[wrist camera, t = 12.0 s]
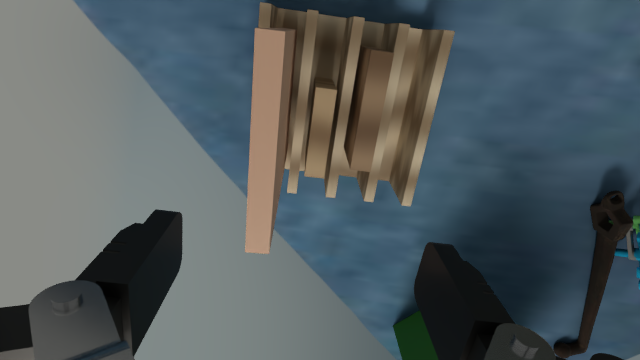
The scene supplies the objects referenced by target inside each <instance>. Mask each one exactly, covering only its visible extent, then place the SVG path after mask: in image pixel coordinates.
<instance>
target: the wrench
mask: <svg viewBox="0 0 640 360" xmlns="http://www.w3.org/2000/svg"><path fill="white" fill-rule="evenodd" d="M614 195H616V196H615V197H613V198H611V197H612V196H614ZM610 198H611V199H610ZM590 211H591V216H592V223H593V228H594V230H596V231H597V239H596V247H595V254H594V260H593V266H592V271H591V277H590V282H589V288H588V293H587V298H586V303H585V308H584V313H583V318H582V322H581V327H580V332H579V336H578V340H577V341H576V342H574V343H570V344H565V343H562V342H559V343H556V344H555V345H554V352H555V354H556V355H557V356H559V357H560V358H568V357H569V356H572V355H576V354H581V353H584V352H586V350H587V348H588V344H589V340H590V336H591V333H592V329H593V326H594V322H595V319H596V316H597V313H598V310H599V306H600V303H601V300H602V296H603V293H604V290H605V286H606V283H607V279H608V276H609V273H610V269H611V266H612V263H613V259H614V255H615V251H616V246H617V242H618V241H619V240H620V239H623V238H624V237H625V235H626V234H627V233H628V231H629V230H630V228H631V227H632V226H633V224H634V223H633V220H632V219H631V218H630V216H629V215H628V214H627V212H626V211H625V209H624V196H623V193H622V192H620V191H612V192H609V193H607V194H606V195H605V196H604V198H603V199H602V201H601V203H599V204H595V205H591V207H590ZM608 216H609V217H610V219H611V220H612V222H613V224H611V223H610V222H609V220H608Z"/></svg>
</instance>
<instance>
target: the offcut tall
mask: <svg viewBox="0 0 640 360" xmlns="http://www.w3.org/2000/svg"><path fill="white" fill-rule="evenodd" d="M393 57H394V53H392V52H389V51H386V50H382V49H379V48H375V47H369V46H362V45H360V50H359V56H358V62H357V68H356V74H355V80H354V86H353V92H352V98H351V104H350V111H349V117H348V123H347V129H346V135H345V141H344V150H345V154H346V157H347V161H348V164H349V168H350V170H357V171H365V172H371V167H372V162H373V157H374V152H375V147H376V142H377V137H378V132H379V127H380V122H381V117H382V112H383V107H384V102H385V97H386V92H387V87H388V82H389V77H390V72H391V67H392V62H393Z"/></svg>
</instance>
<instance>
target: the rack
mask: <svg viewBox="0 0 640 360" xmlns="http://www.w3.org/2000/svg"><path fill="white" fill-rule="evenodd" d="M318 12H319V11H315V10H309V9H307V12H302V11H295V10H289V9H282V8H277V7H276V6H274V5H272V4H268V3H262V2H260V11H259V26H258V28H288V29H296V30H297V42H296V54H295V66H294V77H293V89H292V101H291V113H290V125H289V137H288V149H287V156H286V162H285V167H284V169H290V171H289V180H288V189H287V193H296V192H297V184H298V176H299V171H305V151H306V143H307V135H308V127H309V119H310V111H311V103H312V95H313V87H314V79H315V77H320V78H327V79H332V80H333V82H334V84H335V86H336V89H337V94H336V101H335V108H334V114H333V121H332V128H331V134H330V141H329V148H328V154H327V161H326V168H325V174H324V183H325V193H326V197H331V198H335V195H336V189H337V183H338V177H339V175H342V176H351V177H357V180H358V184H359V187H360V190H361V193H362V196H363V199H364V201H367V202H373V200H374V195H375V191H376V186H377V181H378V180H385V181H389V182H390V184H391V186H392V188H393V190H394V192H395V193H396V195H397V197H398V199H399V201H400V203H401V205H403V206H411V203H412V199H413V195H414V191H415V187H416V183H417V179H418V175H419V171H420V167H421V163H422V159H423V155H424V151H425V147H426V143H427V139H428V135H429V131H430V127H431V123H432V119H433V115H434V111H435V108H436V104H437V100H438V96H439V92H440V88H441V84H442V80H443V76H444V72H445V68H446V64H447V60H448V56H449V52H450V48H451V44H452V40H453V36H454V32H455V31H449V30H423V29H416V28H410V25H409V24H402V23H392V24H382V23H376V22H369V21H364V20H365V18H362V17H355V16H353V17H349V18H342V17H335V16H329V15H322V14H318ZM360 45H362V46H369V47H375V48H379V49H382V50H386V51H389V52H392V53H394V57H393V62H392V67H391V72H390V77H389V82H388V87H387V92H386V97H385V102H384V107H383V112H382V117H381V122H380V127H379V132H378V137H377V142H376V147H375V152H374V157H373V162H372V167H371V172H365V171H357V170H350V168H349V164H348V161H347V157H346V154H345V150H344V141H345V135H346V129H347V123H348V117H349V111H350V104H351V98H352V92H353V86H354V80H355V74H356V68H357V62H358V56H359V50H360ZM248 176H249V175H248Z"/></svg>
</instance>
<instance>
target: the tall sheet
mask: <svg viewBox="0 0 640 360" xmlns="http://www.w3.org/2000/svg"><path fill="white" fill-rule="evenodd" d="M296 42H297V30H296V29H288V28H255V41H254V63H253V86H252V109H251V131H250V154H249V176H248V199H247V223H246V244H245V252H249V253H261V254H269V252H270V246H271V240H272V234H273V229H274V224H275V218H276V212H277V207H278V201H279V196H280V190H281V184H282V179H283V173H284V167H285V162H286V156H287V149H288V137H289V125H290V113H291V101H292V89H293V77H294V66H295V54H296Z"/></svg>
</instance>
